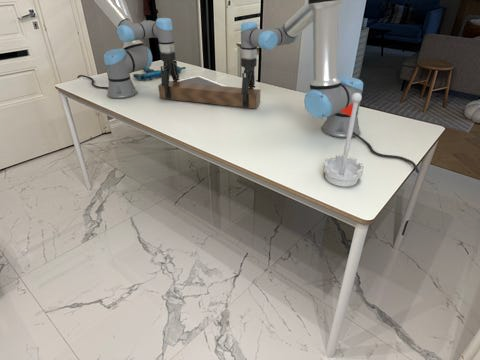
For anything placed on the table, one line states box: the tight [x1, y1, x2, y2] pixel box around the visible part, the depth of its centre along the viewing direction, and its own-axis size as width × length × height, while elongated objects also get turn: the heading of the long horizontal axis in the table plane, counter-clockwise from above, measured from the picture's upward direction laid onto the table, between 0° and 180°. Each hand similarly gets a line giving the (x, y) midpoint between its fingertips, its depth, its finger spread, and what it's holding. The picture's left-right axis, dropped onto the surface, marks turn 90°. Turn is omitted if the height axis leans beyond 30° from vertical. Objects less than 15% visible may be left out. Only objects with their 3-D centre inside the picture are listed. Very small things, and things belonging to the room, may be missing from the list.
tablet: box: [177, 75, 230, 87], centre depth 204 cm, size 32×20×1 cm, turn 41°
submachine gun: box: [132, 65, 187, 81], centre depth 224 cm, size 34×4×25 cm
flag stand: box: [322, 93, 365, 187], centre depth 109 cm, size 13×13×30 cm
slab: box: [157, 80, 262, 109], centre depth 177 cm, size 54×8×7 cm, turn 73°
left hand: (172, 95), depth 184 cm, fingers closed on slab, 8 cm apart
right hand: (248, 103), depth 174 cm, fingers closed on slab, 8 cm apart
